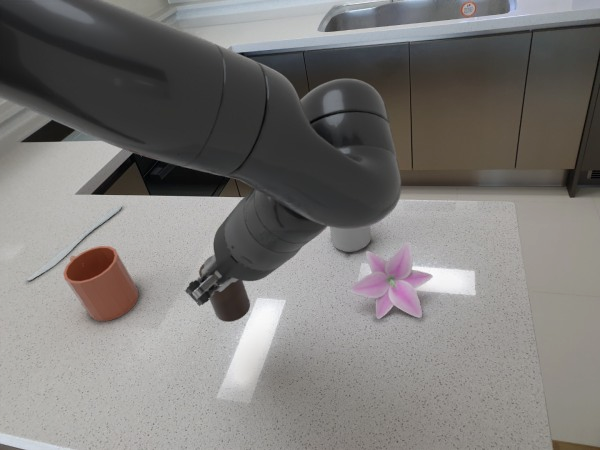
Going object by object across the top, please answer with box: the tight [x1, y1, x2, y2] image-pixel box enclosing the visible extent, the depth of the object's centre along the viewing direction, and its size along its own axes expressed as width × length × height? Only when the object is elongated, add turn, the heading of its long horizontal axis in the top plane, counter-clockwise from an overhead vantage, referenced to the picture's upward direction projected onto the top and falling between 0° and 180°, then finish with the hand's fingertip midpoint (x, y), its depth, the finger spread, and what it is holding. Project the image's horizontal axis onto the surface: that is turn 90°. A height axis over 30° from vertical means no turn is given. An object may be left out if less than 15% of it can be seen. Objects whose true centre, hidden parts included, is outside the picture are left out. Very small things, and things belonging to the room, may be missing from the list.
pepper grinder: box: [198, 255, 251, 323], centre depth 60 cm, size 5×5×8 cm
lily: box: [348, 241, 434, 320], centre depth 74 cm, size 12×12×10 cm
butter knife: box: [26, 204, 122, 281], centre depth 105 cm, size 1×27×3 cm
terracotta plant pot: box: [63, 245, 140, 322], centre depth 85 cm, size 13×9×10 cm
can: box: [329, 226, 372, 253], centre depth 85 cm, size 8×8×12 cm
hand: (213, 279), depth 61 cm, fingers closed on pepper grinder, 4 cm apart
